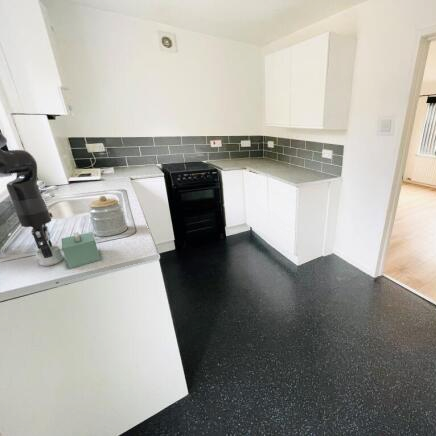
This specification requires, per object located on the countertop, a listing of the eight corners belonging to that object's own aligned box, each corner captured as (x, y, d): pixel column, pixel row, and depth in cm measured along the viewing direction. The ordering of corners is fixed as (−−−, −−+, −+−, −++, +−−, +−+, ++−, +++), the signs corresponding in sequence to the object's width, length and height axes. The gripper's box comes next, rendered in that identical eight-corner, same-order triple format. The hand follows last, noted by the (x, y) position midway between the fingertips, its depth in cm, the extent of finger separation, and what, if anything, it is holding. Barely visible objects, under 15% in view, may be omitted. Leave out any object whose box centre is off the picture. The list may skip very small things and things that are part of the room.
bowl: (40, 268, 86) (34, 255, 84) (40, 261, 90) (35, 249, 89) (63, 262, 90) (59, 250, 88) (63, 256, 94) (59, 244, 93)
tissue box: (69, 268, 86) (59, 242, 82) (68, 257, 93) (59, 233, 90) (100, 259, 91) (93, 235, 88) (97, 250, 99) (90, 227, 96)
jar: (119, 236, 112) (109, 198, 106) (88, 238, 111) (76, 200, 104) (132, 225, 124) (124, 192, 118) (104, 227, 123) (94, 193, 117)
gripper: (18, 208, 86) (35, 250, 92) (13, 218, 76) (33, 264, 81) (47, 204, 91) (62, 243, 96) (46, 212, 81) (62, 256, 86)
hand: (49, 253), depth 89 cm, fingers open, 8 cm apart
